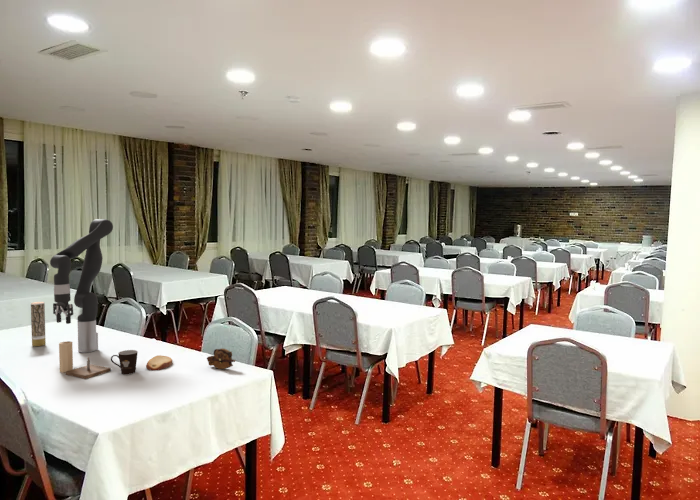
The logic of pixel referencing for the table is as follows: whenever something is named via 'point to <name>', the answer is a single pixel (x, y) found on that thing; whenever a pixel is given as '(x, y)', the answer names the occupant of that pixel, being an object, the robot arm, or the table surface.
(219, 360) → the wooden carving
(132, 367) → the coffee mug
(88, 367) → the stand
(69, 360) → the cylinder
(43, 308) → the paper tube
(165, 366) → the pita bread
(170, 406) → the table surface
